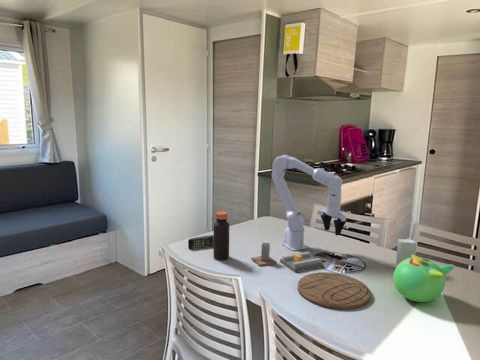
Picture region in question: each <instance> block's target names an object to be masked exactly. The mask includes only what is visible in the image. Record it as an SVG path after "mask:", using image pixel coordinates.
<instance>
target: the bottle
mask: <svg viewBox="0 0 480 360" xmlns="http://www.w3.org/2000/svg"><path fill="white" fill-rule="evenodd" d="M215 220H216V221H215V222H214V223H213V235H214V245H213V259H215V260H216V259H217V261H225V260H227V259H229V258H230V223H229V222H228V212H227V211H217V212H216V213H215Z"/></svg>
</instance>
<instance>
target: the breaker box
mask: <svg viewBox="0 0 480 360" xmlns="http://www.w3.org/2000/svg"><path fill="white" fill-rule="evenodd" d="M294 254H295V253H294ZM294 254H288V255H283V256H282V258H280V261H279V263H281V264H282V265H283V266H284V267H286V268H288V269H289V270H290V271H291V272H293V273H299V272H305V271H310V270H314V269H320V268H323V267H324V262H322V259H321V258H319V257H316V258H315V257H313V256H311V252H309V251H305V252H300V253H297V254H299V255H301V256H302V261H300V262H296V261H294Z"/></svg>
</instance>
